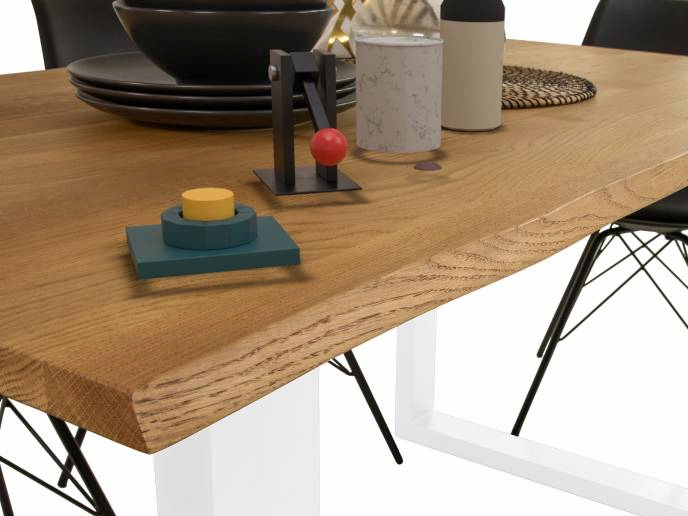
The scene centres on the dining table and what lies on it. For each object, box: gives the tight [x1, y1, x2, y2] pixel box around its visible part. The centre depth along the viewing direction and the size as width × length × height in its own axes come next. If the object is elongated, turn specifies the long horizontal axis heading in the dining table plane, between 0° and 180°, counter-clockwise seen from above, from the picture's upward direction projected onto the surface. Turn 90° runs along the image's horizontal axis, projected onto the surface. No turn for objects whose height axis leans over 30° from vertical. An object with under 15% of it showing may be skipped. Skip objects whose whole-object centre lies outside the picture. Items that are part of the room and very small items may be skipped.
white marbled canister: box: [354, 34, 444, 154], centre depth 110 cm, size 10×10×12 cm
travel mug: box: [439, 0, 506, 132], centre depth 125 cm, size 8×8×18 cm
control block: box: [125, 201, 301, 281], centre depth 73 cm, size 11×9×4 cm
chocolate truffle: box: [413, 160, 443, 172], centre depth 101 cm, size 3×3×2 cm
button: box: [181, 187, 235, 221], centre depth 72 cm, size 4×4×2 cm
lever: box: [288, 51, 349, 166], centre depth 88 cm, size 13×3×3 cm
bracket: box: [252, 48, 363, 197], centre depth 93 cm, size 10×8×13 cm
